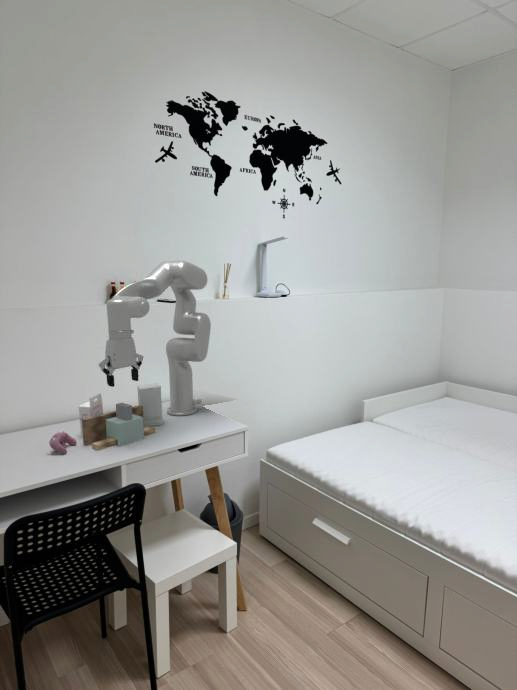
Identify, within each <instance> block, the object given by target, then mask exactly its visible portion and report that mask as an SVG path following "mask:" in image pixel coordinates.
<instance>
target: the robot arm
mask: <svg viewBox="0 0 517 690" xmlns="http://www.w3.org/2000/svg"><path fill="white" fill-rule="evenodd" d="M207 285H208V274H207V273H206V272H205V270H204V269H203V268H201V267H200V266H197V265H195V264H193V263H191V262H189V261H186V260H167V261H166V260H165V261H163V262H161V263H159V264H158V265H157V266H155V268H154V269H153V270H152V271H151V272H150V273H149V274H147V275H146V276H145V277H144V278H141V279H139V280H137V281H135V282H132V283H130V284H128V285H126V286H124V287H123V288H121V289H120V290H119V291H118V292H116V293H115V294H114V295H113V296H112V297H111V299H108V300H107V301H106V314H107V315H106V316H107V328H108V331H107V333H108V339H106V343H105V355H104V358H105V359H103V360H101V362H99V363H98V367H99V368H100V371H101V372H102V373H104V375H106V384H107V385H108V387H111V388H113V387H115V386H116V385H115V375H114V374H113V373H114V372H115V371H116V370H119V369H124V368H128V367H131V369H130V373H131V380H132V381H135V382H139V370H140V367H141V365H142V363H143V361H144V358H145V357H144V356H143V355H142V354H139V353H137V349H136V345H135V341H134V338H133V336H132V335H133V334H134V333H135V330H134V329H132V325H131V319H140V318H143V317H145V316H147V315H148V314H149V312H150V303H149V301H148V300H151V299H155V298H158V297H159V296H161V295H163V294H164V292H165V291H166V290H167V289H168V288H169V287H170V288H171V290H172V292H173V295H174V298H175V307H174V314H173V320H172V321H173V323H172V324H173V325H172V327H173V328H172V329H173V331H174V332H175V333H176V334H178V335H184V336H194V338H193V337H191V338H189V337H173V338H170V339H169V340H168V341H167V343H166V345H165V353H166V357H167V362H168V371H169V372H168V373H169V399H170V407H168V408H167V409H166V413H167V414H168V415H172V416H177V417H179V416H181V417H182V416H189V415H193V414H195V413H196V412H197V411H198V407H197V405H199V404H202V399H201V398H199V399H194V386H193V385H194V384H193V383H194V382H193V370H192V365H191V364H190V362H192V363H193V362H194V363H199V362H200V363H202V362H203V361H205V360H206V358H207V355H208V352H209V351H208V350H209V343H210V337H211V327H212V325H211V319H210V317H209V315H208V314H206V313H205V312H196V310H197V309H196V308H197V300H196V297H195V294H194V293H193V292H192V291H193V290H197V291H198V290H199V291H200V290H203V289H205V287H207Z"/></svg>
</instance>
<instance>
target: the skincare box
mask: <svg viewBox="0 0 517 690" xmlns="http://www.w3.org/2000/svg"><path fill="white" fill-rule="evenodd" d="M136 386H137V399H138V400H137V401H138V403H137V404H138V405H142V406H143V422H144V428H146V427H150V426H151V427H155V426H156V427H157V426H162V425H163V424H164V421H163V420H164V419H163V405H162V402H163V401H162V386H161V385H160V384H159V383H158V382H155V383H147V384H139V385H136Z"/></svg>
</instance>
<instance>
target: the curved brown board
mask: <svg viewBox="0 0 517 690" xmlns="http://www.w3.org/2000/svg"><path fill="white" fill-rule="evenodd" d="M132 414H134V415H137V416H140V417H143V406H142V405H139V404H138V405H135V406H132ZM114 417H116V410H115V411H110V412H105V413H103V414H102V415H98V416H94V417H90V418H85V419H82V431H83V437H82V442H83V443H82V444H84V446H89V445H91V448H92V449H93V450H95V451H99V450H104V449H106V447H107V448H109V447H112V446H116V445H118V440H116V439H113V438H108V439H107V435H106V419H110V418H114ZM143 427H144V422H143ZM155 433H156V427H155V426H150V427H144V437H145V435H146V436H149V435H152V434H155ZM148 434H149V435H148Z"/></svg>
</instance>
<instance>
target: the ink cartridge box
mask: <svg viewBox="0 0 517 690" xmlns="http://www.w3.org/2000/svg"><path fill="white" fill-rule="evenodd" d="M95 399H96V400H95ZM78 413H79V414H78V415H79V426H80V427H79V428H80V437H81V438H83V431H82V419H85V418H90V417H94V416H98V415H102V414H104V409H103V399H102V393H101V392H100V393H97V394H96V395H93V396H91V397H90V398H89V401H87V402H85V403H83V404H81V405H79V406H78Z"/></svg>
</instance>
